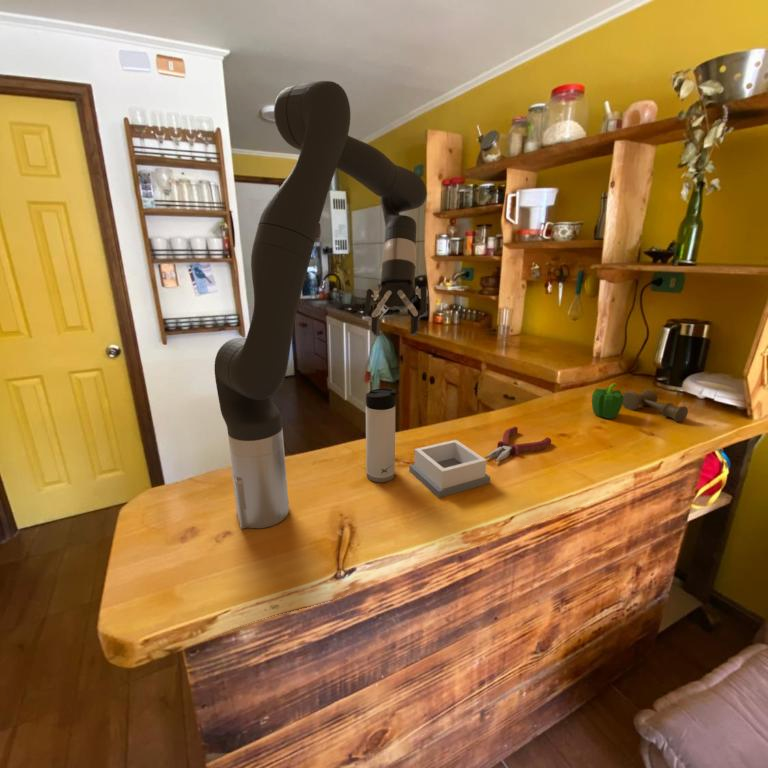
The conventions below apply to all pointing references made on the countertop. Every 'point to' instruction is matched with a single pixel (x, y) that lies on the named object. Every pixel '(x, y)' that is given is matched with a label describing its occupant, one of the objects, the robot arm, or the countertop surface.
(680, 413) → the kendama
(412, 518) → the countertop surface
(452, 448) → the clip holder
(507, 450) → the pliers
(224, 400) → the robot arm
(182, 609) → the countertop surface
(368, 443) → the travel mug
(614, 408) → the bell pepper
